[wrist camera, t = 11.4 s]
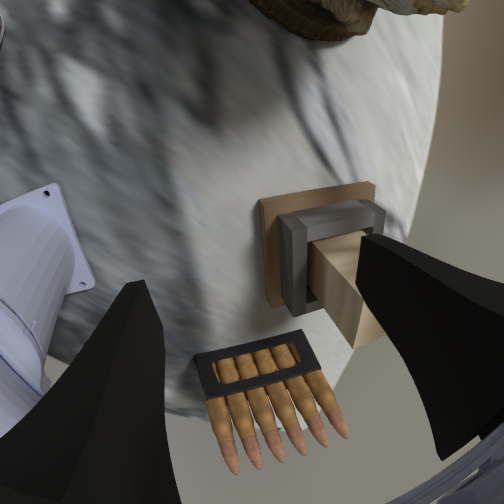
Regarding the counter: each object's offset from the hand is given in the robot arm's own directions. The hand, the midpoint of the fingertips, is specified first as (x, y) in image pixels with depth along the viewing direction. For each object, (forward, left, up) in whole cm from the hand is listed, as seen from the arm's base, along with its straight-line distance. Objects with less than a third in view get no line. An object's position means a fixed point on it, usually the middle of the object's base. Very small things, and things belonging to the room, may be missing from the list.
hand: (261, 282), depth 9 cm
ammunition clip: (+1, -16, -11) cm, 20 cm away
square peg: (+8, -6, -9) cm, 14 cm away
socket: (+7, -6, -10) cm, 14 cm away
